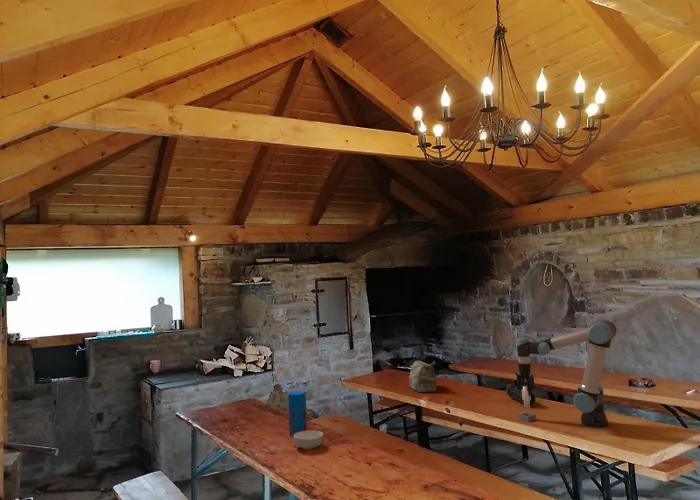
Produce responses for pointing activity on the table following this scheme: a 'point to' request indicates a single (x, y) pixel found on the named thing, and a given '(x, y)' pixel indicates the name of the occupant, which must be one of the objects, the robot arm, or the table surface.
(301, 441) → the cereal bowl
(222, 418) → the table surface
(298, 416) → the thermos
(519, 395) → the muzzle brake
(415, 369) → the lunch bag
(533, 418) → the socket block
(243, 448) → the table surface
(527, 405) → the plug
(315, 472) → the table surface
